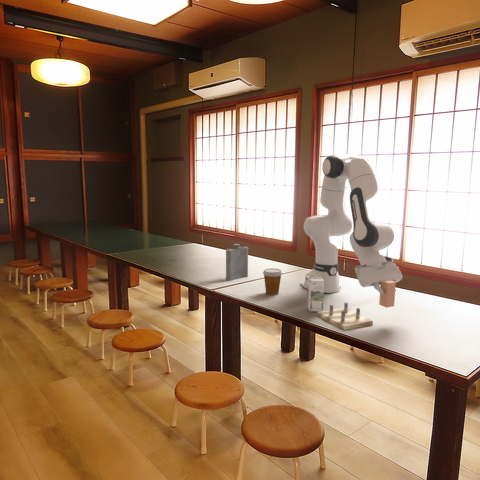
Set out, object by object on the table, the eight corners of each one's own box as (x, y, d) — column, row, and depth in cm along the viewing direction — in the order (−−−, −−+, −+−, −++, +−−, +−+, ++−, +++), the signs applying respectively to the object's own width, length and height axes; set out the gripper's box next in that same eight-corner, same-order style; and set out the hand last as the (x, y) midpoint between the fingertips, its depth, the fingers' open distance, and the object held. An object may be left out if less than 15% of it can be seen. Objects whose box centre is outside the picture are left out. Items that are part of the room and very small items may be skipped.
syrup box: (319, 307, 183) (321, 276, 181) (323, 312, 177) (324, 280, 175) (307, 308, 183) (308, 276, 181) (310, 312, 177) (311, 280, 175)
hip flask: (228, 281, 228) (228, 246, 225) (223, 279, 231) (223, 245, 228) (249, 276, 239) (249, 243, 235) (244, 275, 242) (244, 242, 238)
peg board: (317, 315, 174) (317, 303, 173) (343, 310, 179) (344, 298, 178) (344, 330, 157) (345, 316, 157) (372, 324, 163) (373, 311, 162)
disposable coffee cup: (267, 289, 211) (267, 267, 209) (284, 292, 207) (284, 269, 205) (259, 294, 203) (260, 271, 201) (277, 297, 199) (278, 273, 197)
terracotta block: (379, 304, 165) (380, 280, 163) (386, 303, 166) (388, 279, 165) (386, 307, 161) (388, 283, 160) (394, 306, 163) (395, 282, 161)
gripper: (356, 262, 163) (372, 292, 156) (395, 257, 171) (412, 286, 164) (349, 270, 168) (364, 299, 161) (386, 265, 176) (402, 293, 169)
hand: (388, 292), depth 162 cm, fingers closed on terracotta block, 4 cm apart
